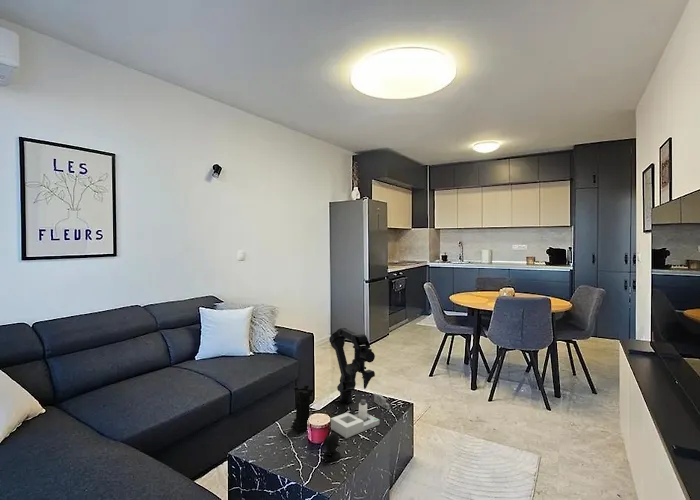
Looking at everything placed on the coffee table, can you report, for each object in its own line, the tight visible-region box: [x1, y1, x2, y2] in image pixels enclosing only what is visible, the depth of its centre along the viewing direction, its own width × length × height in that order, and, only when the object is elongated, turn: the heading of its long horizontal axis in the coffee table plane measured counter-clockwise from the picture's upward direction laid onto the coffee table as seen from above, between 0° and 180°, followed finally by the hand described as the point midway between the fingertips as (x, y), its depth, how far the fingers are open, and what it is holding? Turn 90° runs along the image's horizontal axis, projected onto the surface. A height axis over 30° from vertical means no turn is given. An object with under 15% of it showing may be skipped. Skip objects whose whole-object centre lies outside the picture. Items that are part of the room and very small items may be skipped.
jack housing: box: [330, 412, 381, 439], centre depth 192 cm, size 12×22×5 cm, turn 131°
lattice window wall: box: [373, 392, 391, 410], centre depth 217 cm, size 12×2×6 cm, turn 37°
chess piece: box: [291, 384, 314, 435], centre depth 188 cm, size 8×8×20 cm
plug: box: [358, 398, 368, 422], centre depth 195 cm, size 4×4×12 cm
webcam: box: [322, 432, 342, 463], centre depth 164 cm, size 8×8×10 cm
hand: (358, 386), depth 211 cm, fingers open, 9 cm apart
